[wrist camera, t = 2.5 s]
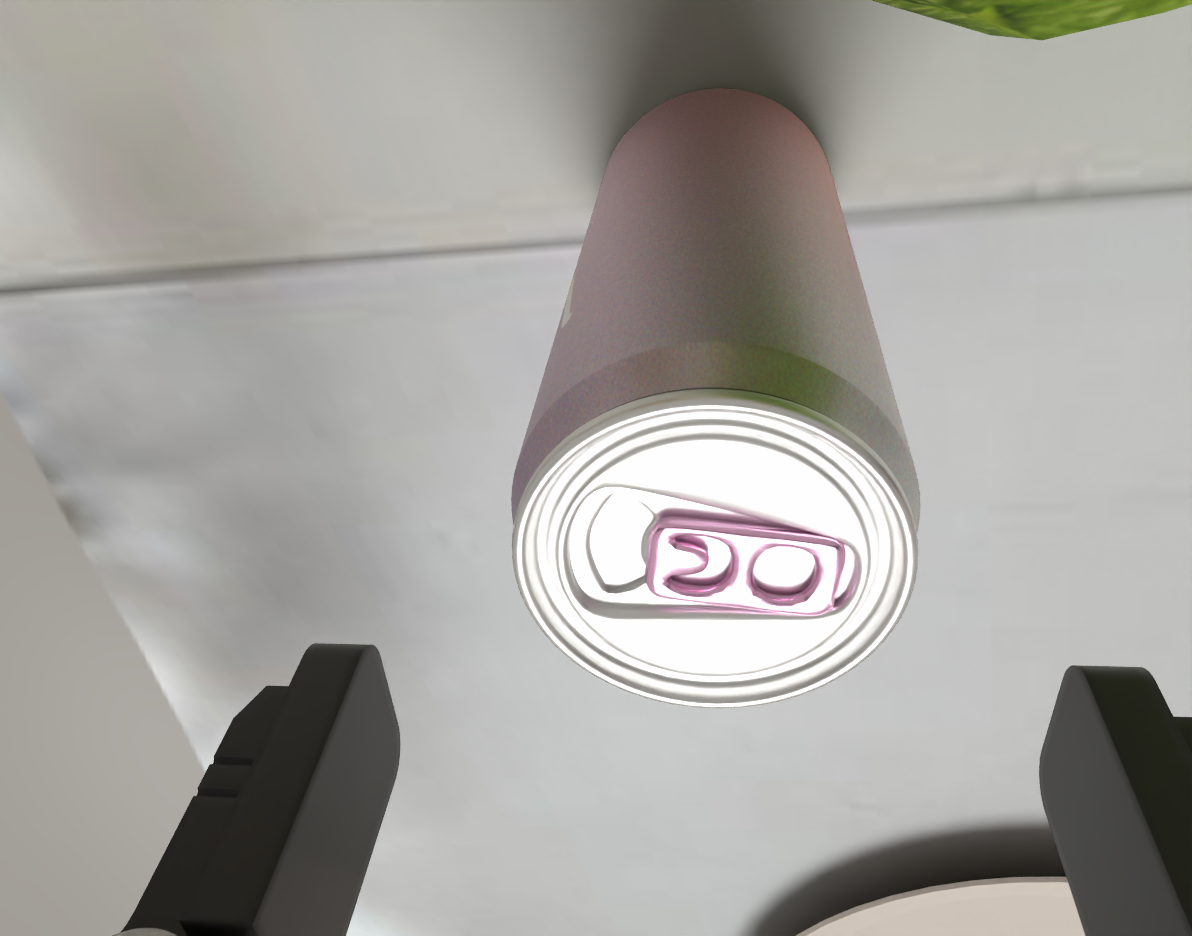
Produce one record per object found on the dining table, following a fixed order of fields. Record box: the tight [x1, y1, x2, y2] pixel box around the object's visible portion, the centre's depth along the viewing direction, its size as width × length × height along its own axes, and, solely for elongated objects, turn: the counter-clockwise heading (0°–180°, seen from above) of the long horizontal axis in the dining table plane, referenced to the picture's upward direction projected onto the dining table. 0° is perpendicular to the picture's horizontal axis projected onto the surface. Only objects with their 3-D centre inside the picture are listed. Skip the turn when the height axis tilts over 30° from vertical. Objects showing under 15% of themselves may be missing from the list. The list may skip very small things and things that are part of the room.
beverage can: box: [511, 88, 920, 708], centre depth 20 cm, size 6×6×15 cm
